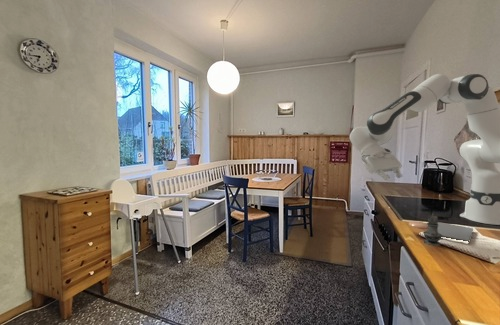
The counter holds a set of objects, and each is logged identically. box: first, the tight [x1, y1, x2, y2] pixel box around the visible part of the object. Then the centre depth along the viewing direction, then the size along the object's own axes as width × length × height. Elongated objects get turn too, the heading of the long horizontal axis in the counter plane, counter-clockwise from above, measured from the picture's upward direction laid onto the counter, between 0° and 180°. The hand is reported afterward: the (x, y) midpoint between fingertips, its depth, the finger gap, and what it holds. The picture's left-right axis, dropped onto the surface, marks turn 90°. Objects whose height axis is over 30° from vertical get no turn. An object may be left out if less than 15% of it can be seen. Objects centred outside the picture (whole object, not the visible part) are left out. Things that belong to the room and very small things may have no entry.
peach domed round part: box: [408, 220, 428, 230], centre depth 112 cm, size 8×8×1 cm
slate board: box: [438, 221, 474, 243], centre depth 101 cm, size 18×12×2 cm, turn 134°
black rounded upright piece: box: [422, 212, 442, 247], centre depth 93 cm, size 6×6×12 cm
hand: (394, 178), depth 105 cm, fingers open, 8 cm apart
